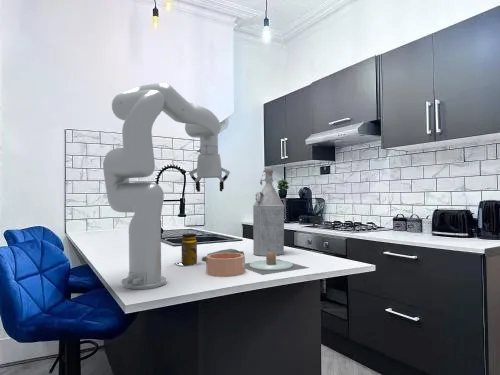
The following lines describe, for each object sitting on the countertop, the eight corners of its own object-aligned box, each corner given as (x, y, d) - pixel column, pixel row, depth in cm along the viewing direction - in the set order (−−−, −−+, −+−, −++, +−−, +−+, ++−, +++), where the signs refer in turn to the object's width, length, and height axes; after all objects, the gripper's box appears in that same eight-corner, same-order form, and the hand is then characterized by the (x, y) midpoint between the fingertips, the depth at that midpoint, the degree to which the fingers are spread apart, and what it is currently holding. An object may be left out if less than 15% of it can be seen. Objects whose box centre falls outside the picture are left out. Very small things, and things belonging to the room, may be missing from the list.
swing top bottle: (246, 255, 156) (244, 166, 157) (267, 250, 170) (266, 168, 171) (270, 258, 149) (268, 164, 150) (290, 252, 163) (288, 167, 164)
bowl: (238, 278, 115) (238, 259, 115) (201, 276, 118) (201, 258, 118) (248, 269, 127) (248, 253, 127) (214, 268, 130) (213, 252, 130)
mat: (262, 275, 117) (262, 274, 117) (235, 265, 135) (235, 264, 135) (309, 268, 127) (309, 267, 127) (278, 260, 145) (278, 259, 145)
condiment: (200, 264, 139) (200, 233, 139) (180, 267, 134) (180, 235, 135) (193, 261, 145) (192, 232, 145) (173, 264, 140) (173, 234, 141)
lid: (290, 271, 121) (289, 256, 122) (245, 270, 125) (244, 255, 125) (295, 262, 137) (294, 249, 137) (254, 261, 141) (254, 248, 141)
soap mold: (244, 255, 160) (244, 248, 160) (221, 264, 142) (221, 255, 142) (225, 254, 164) (225, 246, 164) (200, 262, 146) (200, 253, 146)
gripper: (187, 150, 146) (187, 191, 146) (228, 149, 145) (229, 191, 145) (191, 152, 154) (191, 191, 154) (230, 151, 153) (231, 191, 153)
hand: (209, 191), depth 149 cm, fingers open, 9 cm apart
